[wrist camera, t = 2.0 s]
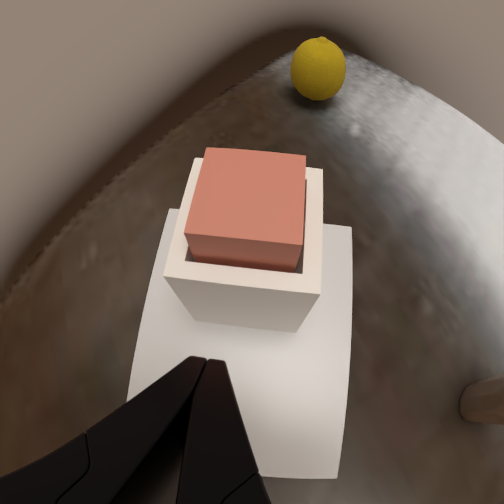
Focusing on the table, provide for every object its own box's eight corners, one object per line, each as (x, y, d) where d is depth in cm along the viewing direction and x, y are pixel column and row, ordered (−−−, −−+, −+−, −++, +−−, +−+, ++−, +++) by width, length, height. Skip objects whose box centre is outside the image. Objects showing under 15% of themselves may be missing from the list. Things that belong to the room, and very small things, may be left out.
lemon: (348, 107, 31) (363, 46, 24) (308, 121, 30) (319, 54, 22) (317, 81, 33) (326, 24, 26) (278, 93, 32) (281, 30, 24)
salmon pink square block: (293, 275, 14) (302, 245, 12) (196, 264, 14) (183, 232, 12) (298, 195, 16) (305, 155, 13) (213, 187, 16) (206, 147, 14)
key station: (334, 475, 16) (382, 518, 8) (125, 446, 17) (54, 466, 9) (348, 232, 24) (385, 156, 16) (171, 214, 25) (141, 135, 17)
